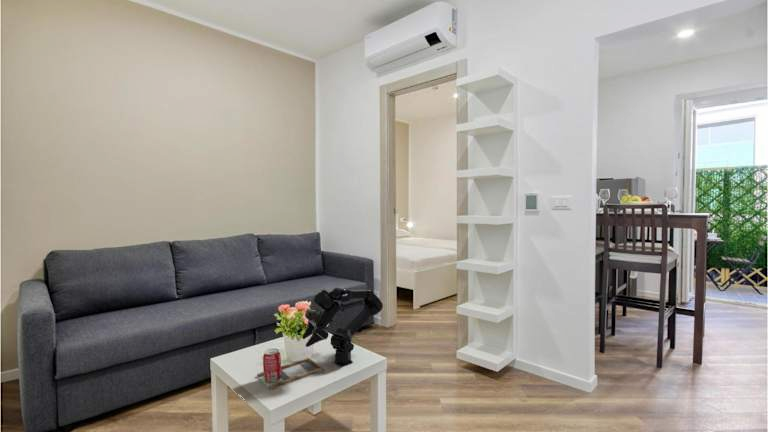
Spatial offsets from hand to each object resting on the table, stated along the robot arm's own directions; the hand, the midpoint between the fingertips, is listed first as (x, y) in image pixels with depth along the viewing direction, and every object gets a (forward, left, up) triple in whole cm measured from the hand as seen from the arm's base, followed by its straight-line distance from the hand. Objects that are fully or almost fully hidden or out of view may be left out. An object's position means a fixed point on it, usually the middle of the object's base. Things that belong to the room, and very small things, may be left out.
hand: (304, 342), depth 158 cm
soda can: (+13, -3, -13) cm, 19 cm away
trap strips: (+3, -3, -13) cm, 14 cm away
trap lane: (+5, -3, -13) cm, 15 cm away
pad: (+14, -3, -13) cm, 20 cm away
